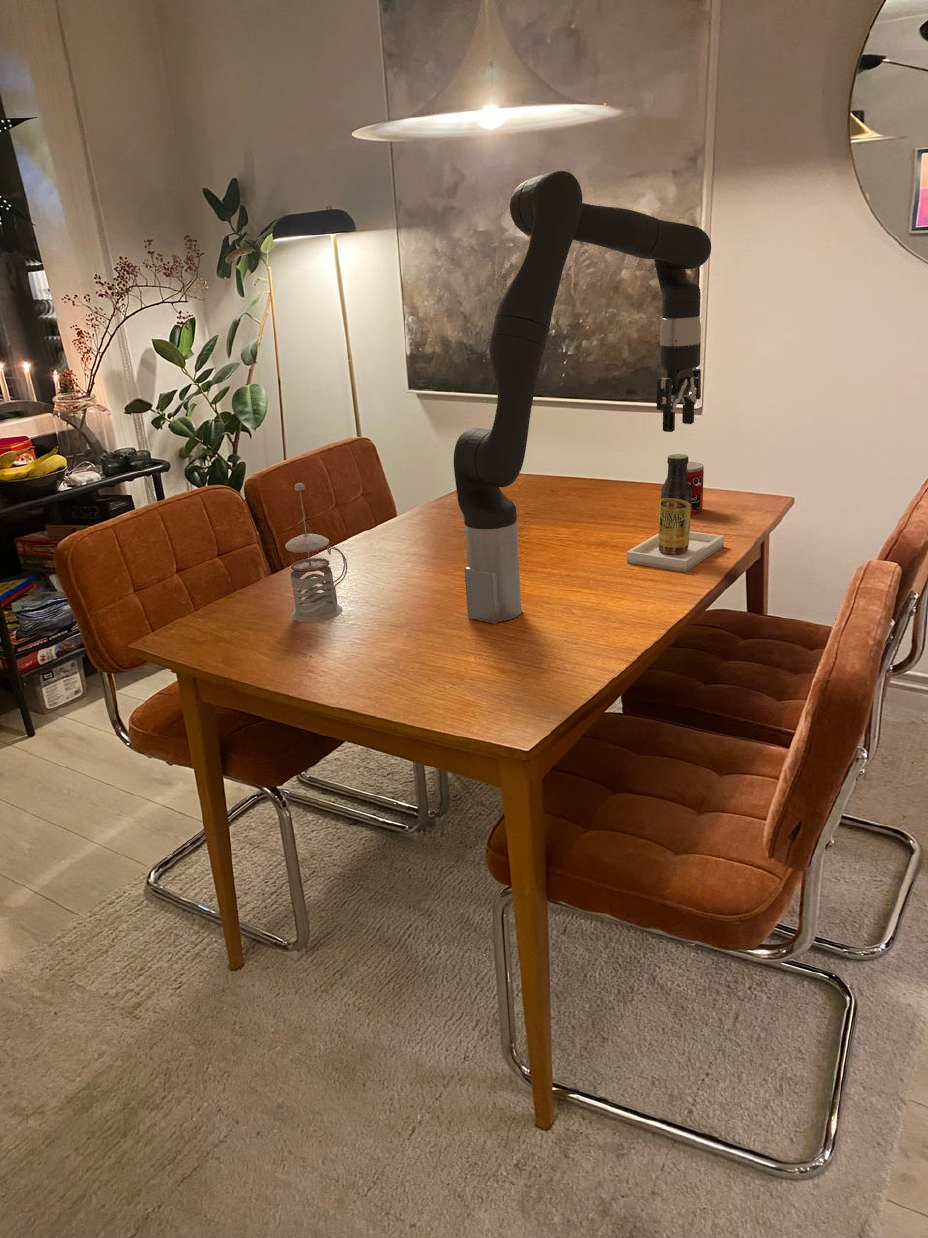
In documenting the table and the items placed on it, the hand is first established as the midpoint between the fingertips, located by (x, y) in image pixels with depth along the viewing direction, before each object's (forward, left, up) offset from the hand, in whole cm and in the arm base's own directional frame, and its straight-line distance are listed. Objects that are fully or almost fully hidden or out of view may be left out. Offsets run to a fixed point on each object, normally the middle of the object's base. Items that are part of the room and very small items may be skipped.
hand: (678, 427), depth 182 cm
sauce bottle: (-1, 0, -26) cm, 26 cm away
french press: (-59, +44, -26) cm, 78 cm away
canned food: (+30, +12, -26) cm, 42 cm away
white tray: (0, 0, -26) cm, 26 cm away
